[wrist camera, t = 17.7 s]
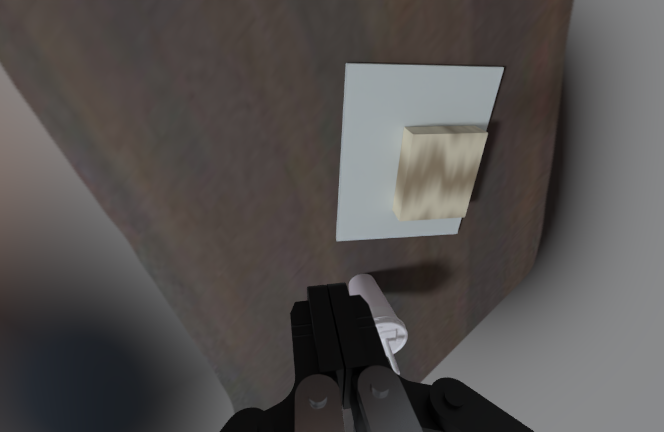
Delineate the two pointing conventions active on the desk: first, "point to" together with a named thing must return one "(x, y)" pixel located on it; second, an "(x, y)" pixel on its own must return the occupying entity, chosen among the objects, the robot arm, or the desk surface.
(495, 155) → the desk surface
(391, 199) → the mat
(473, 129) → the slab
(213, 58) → the desk surface
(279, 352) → the desk surface
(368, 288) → the smoothie
